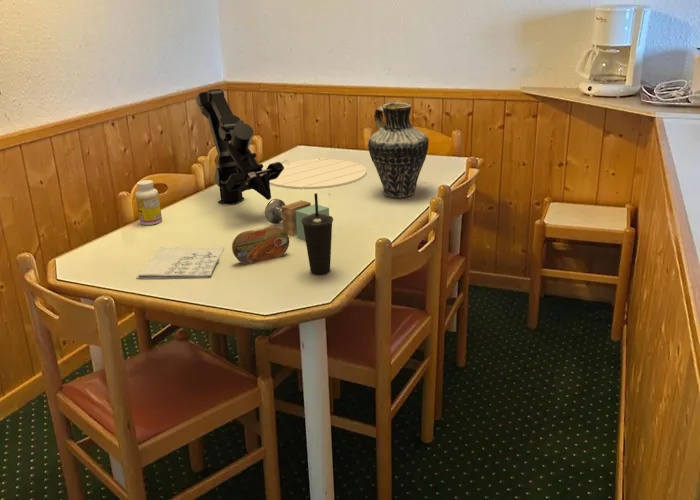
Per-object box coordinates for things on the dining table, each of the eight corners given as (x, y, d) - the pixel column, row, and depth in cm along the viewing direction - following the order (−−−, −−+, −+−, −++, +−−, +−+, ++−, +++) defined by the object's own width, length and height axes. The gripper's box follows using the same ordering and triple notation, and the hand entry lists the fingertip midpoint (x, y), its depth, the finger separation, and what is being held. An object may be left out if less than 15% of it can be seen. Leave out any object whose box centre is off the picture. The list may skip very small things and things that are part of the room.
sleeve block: (283, 233, 189) (281, 206, 186) (303, 226, 194) (301, 200, 191) (292, 236, 187) (290, 209, 184) (312, 228, 192) (310, 202, 189)
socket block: (297, 237, 185) (295, 210, 182) (316, 230, 190) (315, 204, 187) (310, 242, 182) (308, 214, 179) (330, 234, 187) (328, 207, 184)
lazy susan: (240, 176, 250) (239, 167, 249) (319, 156, 274) (319, 148, 273) (306, 197, 222) (306, 187, 221) (388, 173, 246) (388, 164, 245)
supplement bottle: (139, 220, 204) (132, 180, 199) (161, 217, 206) (155, 177, 201) (140, 227, 198) (134, 186, 193) (163, 224, 200) (157, 183, 195)
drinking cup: (304, 266, 166) (299, 190, 159) (334, 264, 167) (331, 188, 159) (305, 278, 159) (299, 199, 152) (336, 276, 160) (332, 197, 152)
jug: (440, 193, 219) (441, 102, 208) (401, 207, 207) (400, 111, 196) (393, 182, 233) (393, 96, 222) (355, 195, 221) (352, 105, 210)
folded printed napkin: (135, 281, 163) (133, 273, 162) (161, 250, 181) (159, 243, 180) (211, 280, 161) (210, 272, 161) (229, 250, 180) (228, 242, 179)
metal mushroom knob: (265, 226, 194) (263, 202, 192) (284, 219, 199) (283, 196, 196) (289, 234, 187) (287, 209, 185) (308, 227, 192) (307, 202, 190)
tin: (236, 267, 167) (232, 236, 164) (232, 263, 170) (228, 232, 167) (290, 255, 174) (288, 225, 170) (286, 251, 176) (284, 221, 173)
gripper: (257, 166, 210) (282, 206, 207) (208, 179, 198) (234, 221, 195) (271, 145, 202) (297, 186, 199) (221, 157, 190) (248, 200, 187)
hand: (269, 199), depth 195 cm, fingers closed
